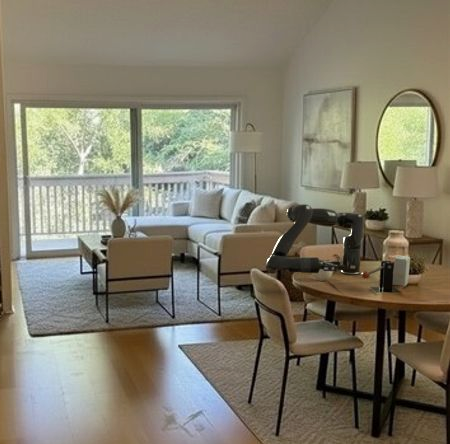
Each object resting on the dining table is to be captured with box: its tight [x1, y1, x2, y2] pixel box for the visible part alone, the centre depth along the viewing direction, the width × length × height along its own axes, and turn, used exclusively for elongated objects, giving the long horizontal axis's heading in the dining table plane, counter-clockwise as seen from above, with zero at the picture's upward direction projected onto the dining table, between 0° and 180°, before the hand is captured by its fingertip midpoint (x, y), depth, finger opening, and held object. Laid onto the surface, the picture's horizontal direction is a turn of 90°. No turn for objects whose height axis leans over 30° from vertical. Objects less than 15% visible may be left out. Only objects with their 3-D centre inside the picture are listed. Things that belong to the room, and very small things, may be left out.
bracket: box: [369, 260, 403, 294], centre depth 271 cm, size 12×10×15 cm
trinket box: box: [311, 269, 334, 282], centre depth 296 cm, size 11×11×9 cm
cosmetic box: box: [393, 254, 411, 287], centre depth 282 cm, size 8×6×15 cm
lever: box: [361, 262, 389, 280], centre depth 271 cm, size 14×4×4 cm, turn 88°
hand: (342, 265), depth 271 cm, fingers open, 8 cm apart
